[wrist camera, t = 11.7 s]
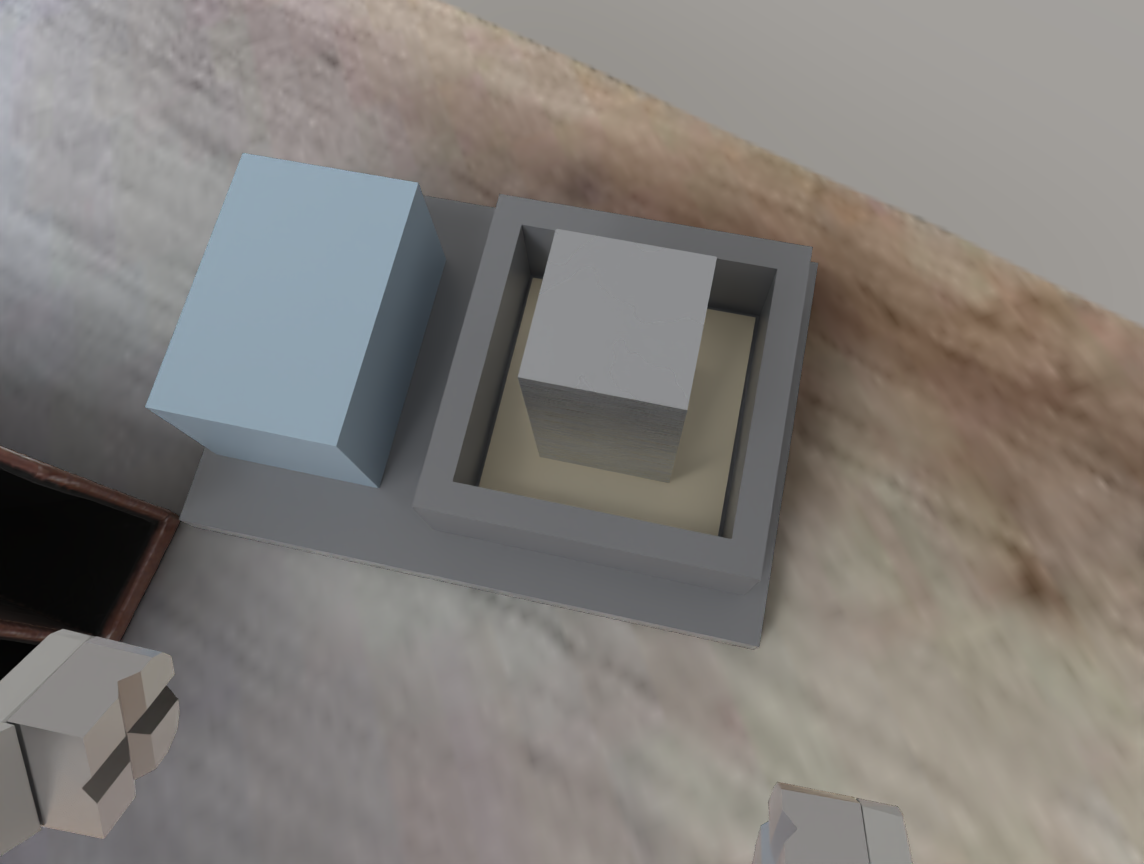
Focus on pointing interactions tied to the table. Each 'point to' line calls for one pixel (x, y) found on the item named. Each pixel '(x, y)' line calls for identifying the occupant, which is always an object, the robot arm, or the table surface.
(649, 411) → the grey square pillar block
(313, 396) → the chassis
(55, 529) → the letter holder
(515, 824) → the table surface
